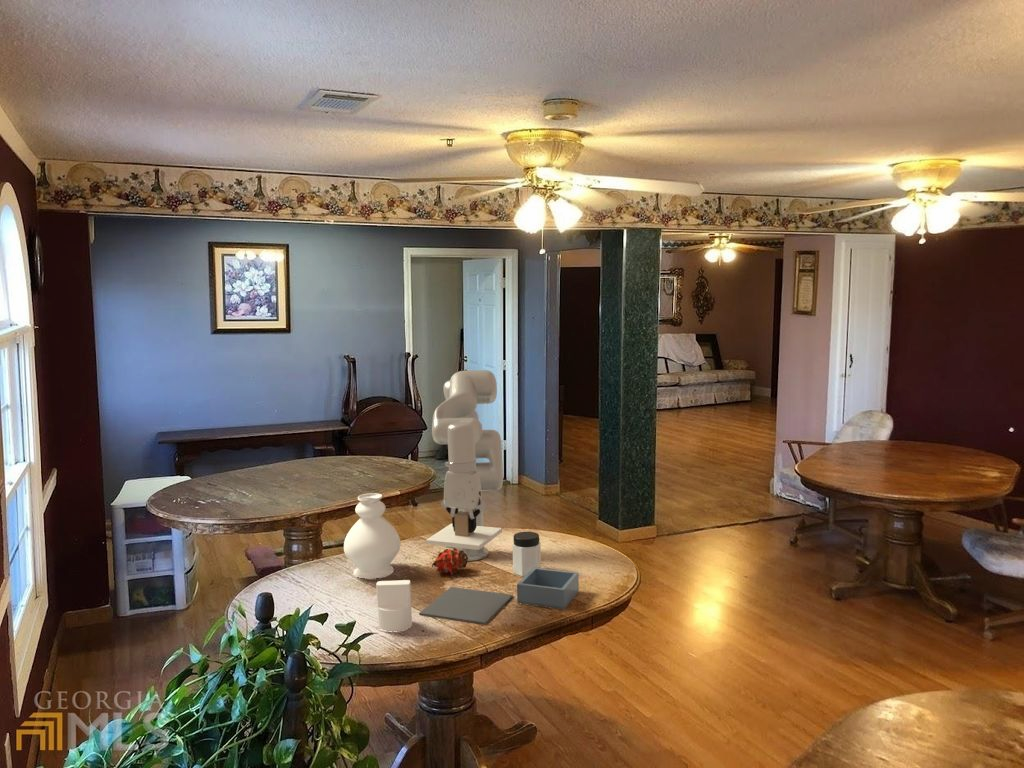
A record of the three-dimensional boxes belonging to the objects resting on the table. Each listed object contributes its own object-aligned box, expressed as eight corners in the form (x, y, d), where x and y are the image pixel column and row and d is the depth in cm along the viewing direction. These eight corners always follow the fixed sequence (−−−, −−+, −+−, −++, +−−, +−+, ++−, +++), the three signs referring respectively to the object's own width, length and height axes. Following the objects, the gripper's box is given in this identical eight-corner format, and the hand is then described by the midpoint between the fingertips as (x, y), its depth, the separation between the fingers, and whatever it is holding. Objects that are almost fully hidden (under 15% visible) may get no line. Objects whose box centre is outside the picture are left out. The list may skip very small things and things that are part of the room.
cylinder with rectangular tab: (413, 617, 217) (411, 575, 215) (410, 632, 208) (408, 588, 206) (380, 619, 217) (378, 577, 215) (376, 633, 208) (374, 589, 206)
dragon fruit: (472, 575, 252) (436, 586, 248) (463, 553, 258) (428, 564, 254) (472, 560, 246) (435, 571, 242) (464, 538, 252) (427, 548, 248)
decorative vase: (407, 577, 248) (404, 499, 244) (350, 586, 241) (346, 506, 238) (394, 559, 264) (391, 486, 261) (340, 567, 258) (336, 493, 254)
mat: (419, 615, 218) (419, 612, 218) (451, 588, 237) (450, 586, 237) (485, 624, 211) (485, 622, 211) (512, 596, 230) (512, 594, 229)
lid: (426, 544, 217) (425, 518, 216) (451, 527, 232) (450, 503, 231) (479, 549, 211) (478, 523, 210) (501, 532, 226) (501, 507, 225)
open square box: (517, 604, 225) (516, 584, 224) (534, 586, 238) (533, 567, 237) (564, 610, 220) (563, 589, 219) (578, 592, 232) (578, 572, 232)
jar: (546, 572, 248) (545, 535, 247) (526, 579, 243) (525, 541, 242) (527, 565, 255) (527, 529, 254) (508, 571, 250) (507, 534, 248)
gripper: (429, 468, 219) (431, 532, 221) (484, 471, 212) (486, 537, 215) (441, 462, 226) (443, 524, 228) (495, 465, 219) (497, 529, 222)
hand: (464, 530), depth 221 cm, fingers closed on lid, 4 cm apart
